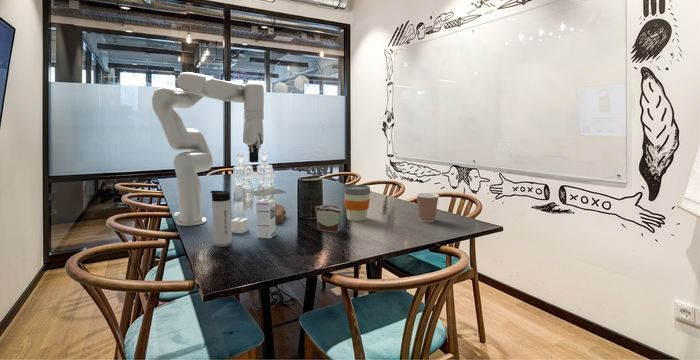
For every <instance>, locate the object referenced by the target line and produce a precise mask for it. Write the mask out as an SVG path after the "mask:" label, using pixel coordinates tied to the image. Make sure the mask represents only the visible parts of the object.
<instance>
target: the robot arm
mask: <svg viewBox="0 0 700 360" xmlns="http://www.w3.org/2000/svg"><path fill="white" fill-rule="evenodd" d="M176 84H177V85H176V86H177V87H166V86H165V87H164V86H163V87H160V88H158V89H156V90H155V91H154V93H153V94H152V98H151V104H152V108H153V112H154V114H155V115H156V117H157V119H158V120H159V123H160V125H161V127H162V130H163V131H164V135H165V137H166V139H167V142H168V144H169V146H170V148H171V149H172V150H174V151H179V152H180V151H182V152H180V153H178V154H177V155H176V156H175V157H174V159H173V169H174V172H175V176H176V182H177V183H176V184H177V185H176V186H177V197H178V198H177V199H178V212H177V211H175V212H174V214H173V215H172V217H173V218H177V220H175V224H176V226H180V227H181V226H183V227H192V226H193V227H194V226H198V225H203V224H205V223H207V218H206V217H203V216H204V215H203V197H202V183H201V179H200V177H199V175H198V174H197V173H201V172H206V171H207V172H208V171H209V170H211V168H212V167H213V165H214V164H213V163H214V162H213V161H214V159H213V156H212V153H211V150H210V148H209V146H208V143H207V141H206V138H205V137H204V135H203V133H202V132H201V131H199V130H198V129H195V128H187V127H186V126H185V124H184V122H183V119H182V118H181V116H180V115H179V114H178V112H177V111H175V110H174V109H175V108H176V109H189V108H192V107H194V106H195V105H196V104H197V103H198V102H199V101H201V100H202V99H203V98H205V97H206V98H208V99H214V100H217V101H223V102H230V103H231V102H233V103H240V104H242V103H243V119H244V122H243V129H242V130H243V134H242V142H243V144H245V145H247V147H248V153H249V154H248V158H249V159H248V162H249V163H258V162H259V152H260V149H261V147H262V145H264V122H263V121H264V120H265V118H264V116H265V115H264V109H265V108H264V107H265V106H264V103H265V102H264V101H265V93H264V92H265V90H264V86H263V85H262V84H261V83H253V82H252V83H240V82H235V81H228V80H222V79H216V78H215V77H213V76H211V75H205V74H200V73H197V72H196V73H195V72H189V71H187V72H186V71H185V72H181V73H180V74H179V75H178V76H177V78H176Z"/></svg>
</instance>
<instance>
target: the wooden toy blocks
mask: <svg viewBox="0 0 700 360" xmlns="http://www.w3.org/2000/svg"><path fill="white" fill-rule="evenodd" d="M275 211H276V224H282V223H284V222H283V221H284V217H285V216H286V213H287V211H286V208H285V206H284V205H282V204H280V203H279V204H278V203H276V202H275Z"/></svg>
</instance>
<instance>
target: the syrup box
mask: <svg viewBox="0 0 700 360" xmlns="http://www.w3.org/2000/svg"><path fill="white" fill-rule="evenodd" d="M275 203H276V200H275V199H274V198H273V199H271V198H262V199H260V200H258V201H256V202H255V216H256V217H255V218H256V233H257V235H256V236H257V238H258V239H272V238H273V237H275V236H276V235H277V223H276V211H275Z"/></svg>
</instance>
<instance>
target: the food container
mask: <svg viewBox="0 0 700 360" xmlns="http://www.w3.org/2000/svg"><path fill="white" fill-rule="evenodd" d="M314 212H315V213H316V214H315V215H316V223H317V230H318V231H323V232H330V233H335V234H337V233H339V232H340V227H341V218H342V217H341V216H342V214H343V209H342V207H341V206H339V205H335V204H322V205H316V206H315V209H314Z"/></svg>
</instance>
